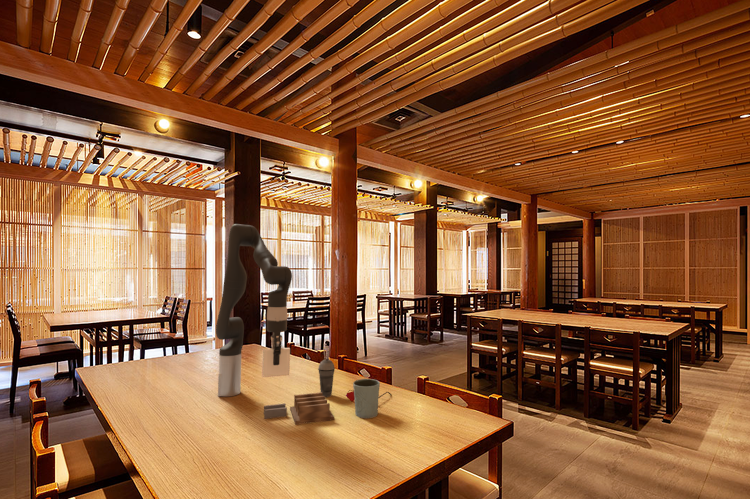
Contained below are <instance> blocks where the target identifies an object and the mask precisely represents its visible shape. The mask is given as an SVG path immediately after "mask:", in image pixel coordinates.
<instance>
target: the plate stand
mask: <svg viewBox="0 0 750 499" xmlns="http://www.w3.org/2000/svg"><path fill="white" fill-rule="evenodd" d="M286 405H287V404H286V403H285V402H284V403H277V404H276V403H275V404H267V405H263V415H264V416H263V418H264V419H265V420H266V419H273V418H283V417H287V416H288V415H287V414H288V412H287V410H288V408H287V406H286Z"/></svg>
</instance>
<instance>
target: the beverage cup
mask: <svg viewBox="0 0 750 499" xmlns="http://www.w3.org/2000/svg"><path fill="white" fill-rule="evenodd" d="M323 356H324V359H323V360H321V361H320V363H319V365H318V368H317V370H318V376H319V386H320V387H319V388H320V389H319V391H320V392H322V393H323V396H325V398H330V397H332V394H333V385H334V384H333V383H334V376H335V375H334V374H335V369H336V368H335V365H334V364H335V363H334V362H333V361H332V359H329V358H327V357H326V350H325V348H324V349H323Z"/></svg>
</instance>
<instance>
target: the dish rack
mask: <svg viewBox="0 0 750 499" xmlns="http://www.w3.org/2000/svg"><path fill="white" fill-rule="evenodd" d="M293 398H294V399H293V400H294V401H293V403H294V404H293V406H290V407H289V411H290V414H291V417H292V420H293V421H294V422H293V423H294V425H295V426H296V425H303V424H305V425H306V424H311V423H320V422H326V421H334V420H335V416H334V415H333V413H332V411H331V410H330V402H328V399H327V398H326V397H325V396H323V393H322V392H321V391H320V392H313V393H312V392H311V393H310V392H309V393H301V394H294V396H293Z"/></svg>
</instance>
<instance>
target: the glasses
mask: <svg viewBox="0 0 750 499" xmlns="http://www.w3.org/2000/svg"><path fill="white" fill-rule="evenodd" d="M386 394H388V395H390V396H392V393H390V392H389V391H386V392H384V393H383V394H381V395H379V399H380V398H381V397H383V396H384V395H386ZM345 397H346V398H347V399H348V400H349V401H351V402H355V398H354V397H355V396H354V389H349V390H348V391H347V392H346V394H345Z"/></svg>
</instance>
